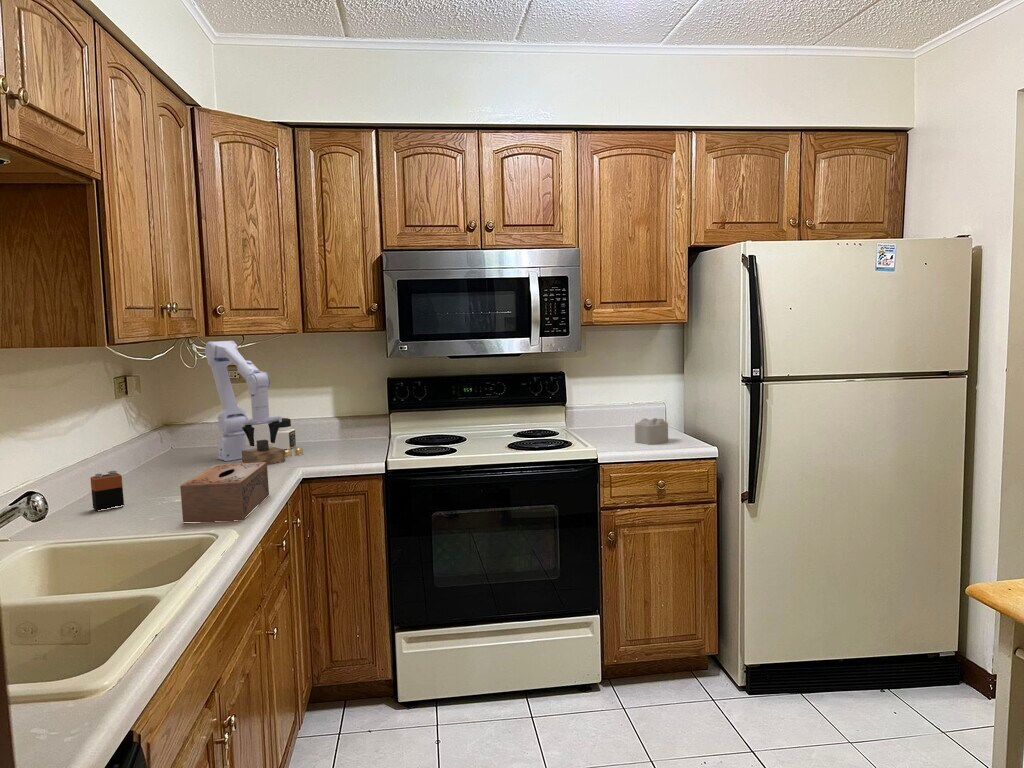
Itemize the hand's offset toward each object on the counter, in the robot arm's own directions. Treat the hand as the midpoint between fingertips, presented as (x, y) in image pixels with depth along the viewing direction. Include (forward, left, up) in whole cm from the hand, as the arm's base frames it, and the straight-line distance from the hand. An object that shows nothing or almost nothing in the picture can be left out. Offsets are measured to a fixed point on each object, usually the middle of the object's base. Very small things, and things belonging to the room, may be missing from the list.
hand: (262, 444), depth 250 cm
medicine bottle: (+18, +22, -7) cm, 29 cm away
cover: (0, 0, -6) cm, 7 cm away
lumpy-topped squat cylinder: (+115, -86, -7) cm, 144 cm away
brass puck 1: (+11, +4, -7) cm, 13 cm away
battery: (-56, -28, -7) cm, 63 cm away
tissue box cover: (-34, -56, -7) cm, 65 cm away
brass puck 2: (+15, +4, -7) cm, 17 cm away
